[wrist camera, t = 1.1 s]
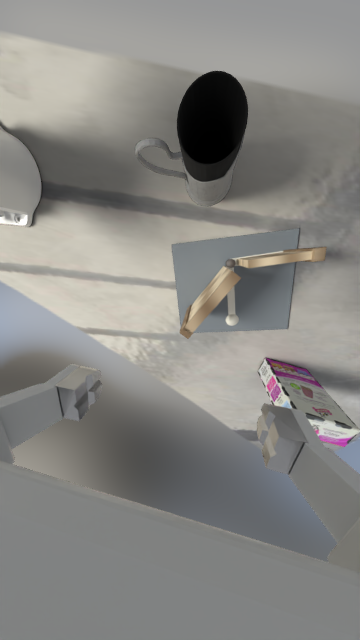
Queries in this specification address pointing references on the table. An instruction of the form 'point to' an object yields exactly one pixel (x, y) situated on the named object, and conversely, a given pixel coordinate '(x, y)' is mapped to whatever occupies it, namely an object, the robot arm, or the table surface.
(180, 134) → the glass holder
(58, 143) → the table surface
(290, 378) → the candy bar box
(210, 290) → the brown wooden panel
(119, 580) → the robot arm
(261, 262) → the bar
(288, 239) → the card
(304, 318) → the table surface
